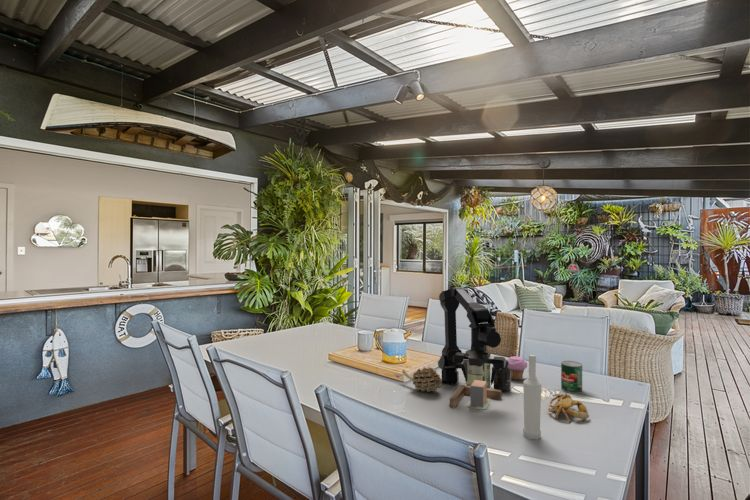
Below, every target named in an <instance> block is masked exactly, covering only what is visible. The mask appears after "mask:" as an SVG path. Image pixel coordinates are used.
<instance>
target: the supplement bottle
mask: <svg viewBox="0 0 750 500" xmlns="http://www.w3.org/2000/svg"><path fill="white" fill-rule="evenodd" d="M508 366H509V364H508V359H506V365H505V367H504V368H501V370H497V372H496V375H495V378H494V381H493V389H496V390H501V393H507V392H510V391H511V390H512V388H511V387H512V384H511V383H512V379H511V369H510V368H509V367H508Z"/></svg>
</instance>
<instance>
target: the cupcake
mask: <svg viewBox="0 0 750 500" xmlns="http://www.w3.org/2000/svg"><path fill="white" fill-rule="evenodd" d="M507 360H508V364H509V366H508V367H509V368H510V369H511V380H515V381H523V377H524V375H523V374H524V372H525V369H527V368H528V362H527V360H526V359H524V358H523V357H522V356H518V355H513V356H510V357H509V358H508V359H507Z"/></svg>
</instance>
